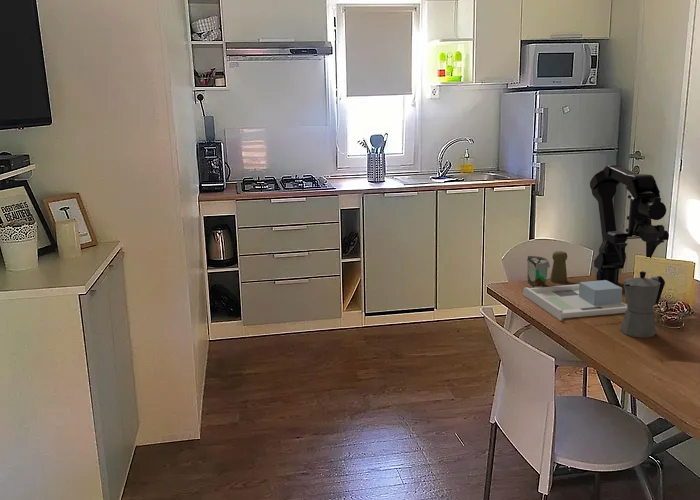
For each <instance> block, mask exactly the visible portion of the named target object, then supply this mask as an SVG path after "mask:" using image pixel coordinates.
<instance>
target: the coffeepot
mask: <svg viewBox="0 0 700 500" xmlns="http://www.w3.org/2000/svg"><path fill="white" fill-rule="evenodd" d="M646 274H647V272H646V271H643V270H642V271H639V276H637V277H627V278H626V279H624V280H623V288H624V298H625V304H627V309H626V311H625V313H624V316H623V320H622V323H621V326H620V331H621V332H622V333H623V334H624V335H626V336H630V337H633V338H642V339H646V338H652V337H654V336H655V334H656V333H657V329H656V328H657V327H656V319H655V318H656V317H655V312H654V307H655V305H657V304H659V303H660V299H661V297H662V293H663V290H664V288H665V284H666V281H665V279H664V277H662V276H660V275H658V276H653V277H650V278H648V277H646Z"/></svg>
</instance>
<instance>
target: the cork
mask: <svg viewBox="0 0 700 500" xmlns="http://www.w3.org/2000/svg"><path fill="white" fill-rule="evenodd" d="M551 256H552V257H551V258H552V260H553V263H552V268H551V272H550V273H551V274H550V279H549V281H550V282H552V283H554V284H565V283H567V282H568V276H567V275H568V274H567V264H566V261H567V260H568V254H567V252H565V251H563V250H556V251H554V252H553V253H552V255H551Z"/></svg>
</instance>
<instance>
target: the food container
mask: <svg viewBox="0 0 700 500" xmlns="http://www.w3.org/2000/svg"><path fill="white" fill-rule="evenodd" d="M526 259H527V260H526V261H527V284H528V285H529V287H532V288H538V287H547V286H546V284H547V277H548V268H550V261H549V259H547V258H546V257H543V256H536V255H527V258H526Z"/></svg>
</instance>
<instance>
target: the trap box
mask: <svg viewBox="0 0 700 500" xmlns="http://www.w3.org/2000/svg"><path fill="white" fill-rule="evenodd" d="M579 284H580V283H577V284H565V285H553V286H545V287H538V288H534V287H524V288H523V293H522V294H523V296H524V297H525V298H527V299H528V300H530V301H531V302H533V303H534V304H536V305H537V306H538V307H540V308H541V309H543V310H544V311H546V312H547V313H549V314H550V315H551V316H553V317H554V318H555V319H557V320H559V321H560V322H561V321H563V322H565V319H570V318H579V317H580V318H581V317H590V316H591V317H593V316H602V315H603V316H604V315H614V314H625V311H626V309H627V303H626V302H623V301H621V303H616V304H604V305H592V304H591V303H589V302H587V301H586V300H584V299H582V298H580V297H579Z"/></svg>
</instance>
